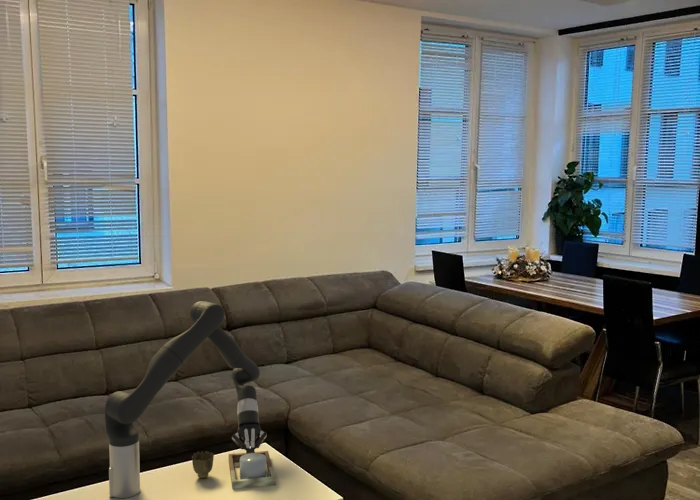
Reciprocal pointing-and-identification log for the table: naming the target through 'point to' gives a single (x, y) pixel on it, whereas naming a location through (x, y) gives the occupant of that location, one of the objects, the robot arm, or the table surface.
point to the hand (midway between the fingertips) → (250, 459)
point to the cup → (202, 463)
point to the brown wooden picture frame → (252, 481)
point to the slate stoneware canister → (252, 466)
